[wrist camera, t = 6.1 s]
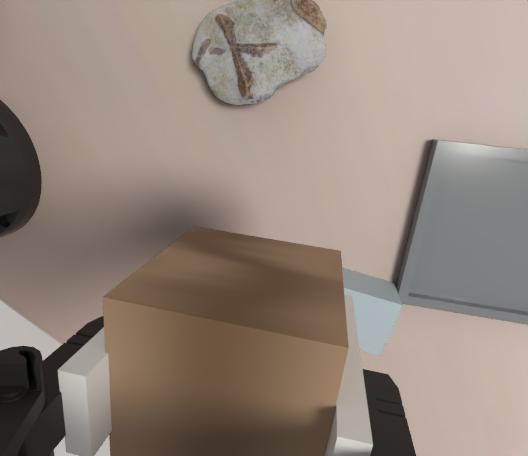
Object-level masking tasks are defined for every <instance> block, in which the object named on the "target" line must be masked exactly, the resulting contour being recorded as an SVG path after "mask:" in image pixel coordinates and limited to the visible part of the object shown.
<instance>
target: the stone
mask: <svg viewBox="0 0 528 456" xmlns="http://www.w3.org/2000/svg"><path fill="white" fill-rule="evenodd" d="M326 27H327V24H326V20H325V18H324V16H323V14H322V12H321V11H320V8H319V6H318V5H317V4H316V3H315V0H237V1H234V2H232V3H229V4H227V5H224V6H221V7H220V8H217V9H215V10H213V11H212V12H210V13H209V14H208V15H207V16H206V17H205V19H204V20H203V22H202V23H201V25H200V27H199V28H198V31H197V34H196V36H195V39H194V42H193V49H192V58H193V60H194V63H195V64H197V65H198V67H199V69H201V70H202V71H203V72H204V75H205V77H206V79H207V82H208V85H209V87H210V89H211V90H212V91H213V93H214V95H215V96H216V97H217V98H218V99H220V100H222V101H224V102H226V103H229V104H233V105H244V104H254V103H260V102H263V101H265V100H266V99H269V98H270V97H271V96H273V93H274V92H275V90H276V89H277V88H279V87H280V86H282V85H284V84H286V83H288V82H290V81H292V80H295V79H296V78H298V77H300V76H302V75H303V74H305V73H308V72H312V71H314V70H315V69H316V68H317V67H318V65H319V64H320V63H321V61H322V60H323V59H324V57H325V55H326V44H325V42H324V40H323V36H324V31H325V29H326Z"/></svg>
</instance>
